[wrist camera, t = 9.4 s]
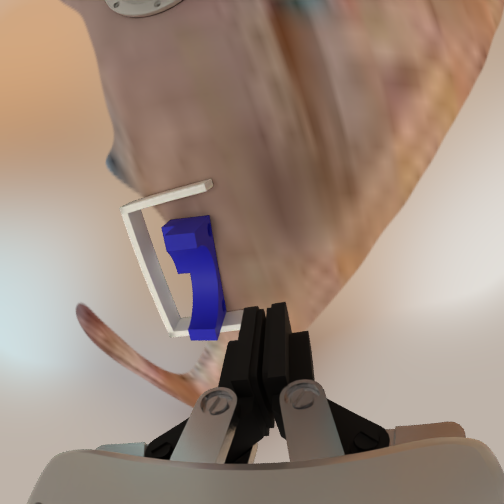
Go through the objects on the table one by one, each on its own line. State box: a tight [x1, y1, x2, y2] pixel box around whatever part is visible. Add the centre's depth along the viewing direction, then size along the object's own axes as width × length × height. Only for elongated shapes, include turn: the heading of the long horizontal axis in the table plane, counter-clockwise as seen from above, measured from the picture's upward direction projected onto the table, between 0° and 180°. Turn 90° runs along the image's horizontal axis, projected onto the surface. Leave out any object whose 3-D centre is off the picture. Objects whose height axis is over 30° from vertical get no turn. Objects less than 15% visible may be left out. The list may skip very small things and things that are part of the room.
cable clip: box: [162, 215, 227, 340], centre depth 32 cm, size 12×4×6 cm, turn 6°
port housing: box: [120, 179, 244, 337], centre depth 33 cm, size 17×10×3 cm, turn 13°
